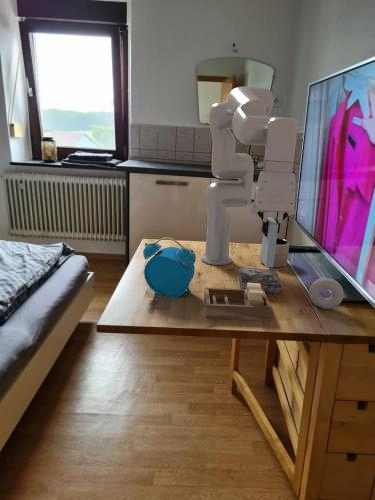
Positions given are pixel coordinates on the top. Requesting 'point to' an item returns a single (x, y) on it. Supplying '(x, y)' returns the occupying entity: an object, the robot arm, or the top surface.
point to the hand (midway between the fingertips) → (270, 234)
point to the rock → (261, 279)
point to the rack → (233, 305)
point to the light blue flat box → (269, 243)
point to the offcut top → (254, 291)
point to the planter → (280, 253)
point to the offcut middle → (253, 302)
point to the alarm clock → (169, 268)
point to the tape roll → (326, 284)
